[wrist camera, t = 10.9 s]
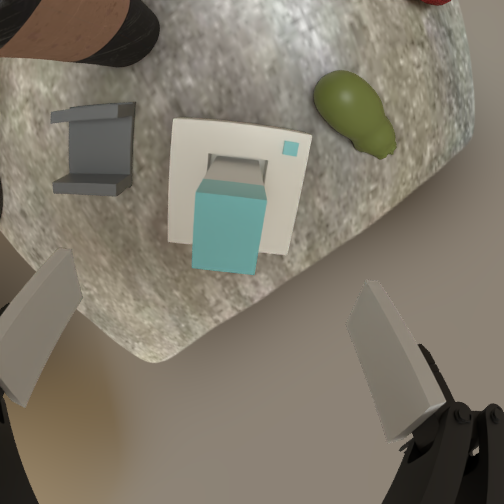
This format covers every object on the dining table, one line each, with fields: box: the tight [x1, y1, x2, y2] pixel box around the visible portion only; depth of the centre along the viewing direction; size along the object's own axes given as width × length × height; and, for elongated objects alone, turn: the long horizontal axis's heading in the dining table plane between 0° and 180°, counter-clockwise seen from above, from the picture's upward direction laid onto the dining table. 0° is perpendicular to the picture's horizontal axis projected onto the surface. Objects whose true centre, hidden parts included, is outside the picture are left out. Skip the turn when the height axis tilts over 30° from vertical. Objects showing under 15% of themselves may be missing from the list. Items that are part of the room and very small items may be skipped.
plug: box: [192, 156, 267, 275], centre depth 21 cm, size 4×5×12 cm
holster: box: [51, 102, 136, 196], centre depth 23 cm, size 8×9×4 cm
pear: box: [314, 70, 397, 160], centre depth 22 cm, size 6×5×10 cm
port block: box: [168, 117, 312, 255], centre depth 26 cm, size 12×12×4 cm
